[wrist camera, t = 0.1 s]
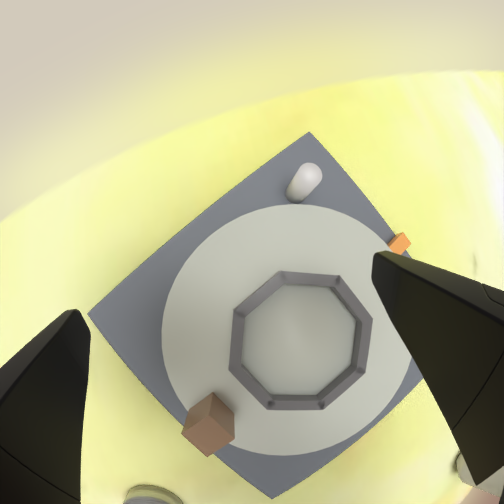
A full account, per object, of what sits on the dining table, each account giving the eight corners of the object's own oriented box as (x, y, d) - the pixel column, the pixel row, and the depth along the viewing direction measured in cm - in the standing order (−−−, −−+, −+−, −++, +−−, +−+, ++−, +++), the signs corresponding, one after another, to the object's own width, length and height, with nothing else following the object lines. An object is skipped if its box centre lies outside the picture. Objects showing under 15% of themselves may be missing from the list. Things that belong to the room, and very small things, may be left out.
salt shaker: (451, 481, 23) (508, 527, 10) (447, 457, 23) (513, 506, 10) (484, 452, 23) (544, 489, 10) (481, 426, 24) (551, 463, 11)
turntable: (452, 321, 24) (490, 328, 18) (276, 480, 22) (284, 518, 16) (325, 147, 24) (347, 117, 19) (116, 319, 22) (85, 330, 16)
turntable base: (457, 335, 24) (492, 343, 19) (271, 497, 22) (278, 532, 17) (308, 132, 25) (325, 101, 19) (88, 313, 22) (56, 321, 17)
